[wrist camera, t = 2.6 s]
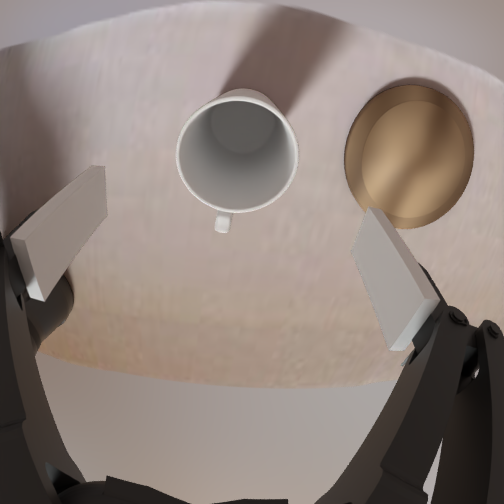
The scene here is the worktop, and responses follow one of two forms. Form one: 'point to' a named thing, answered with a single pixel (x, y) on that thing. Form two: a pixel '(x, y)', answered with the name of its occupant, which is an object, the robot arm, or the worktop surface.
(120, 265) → the worktop surface
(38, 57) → the worktop surface
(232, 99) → the mug
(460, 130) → the disc
